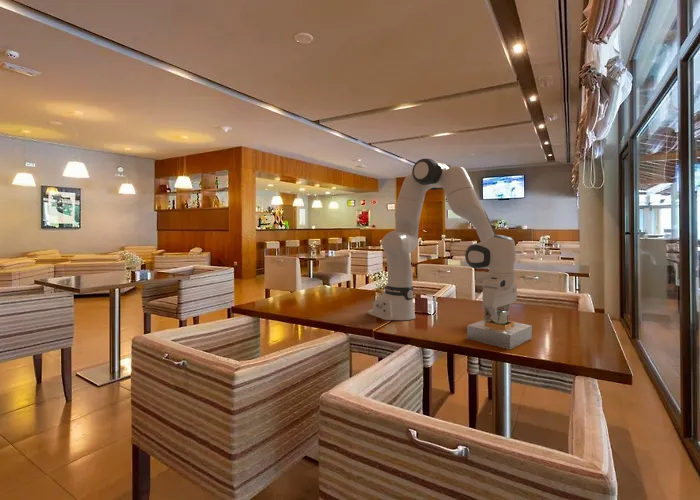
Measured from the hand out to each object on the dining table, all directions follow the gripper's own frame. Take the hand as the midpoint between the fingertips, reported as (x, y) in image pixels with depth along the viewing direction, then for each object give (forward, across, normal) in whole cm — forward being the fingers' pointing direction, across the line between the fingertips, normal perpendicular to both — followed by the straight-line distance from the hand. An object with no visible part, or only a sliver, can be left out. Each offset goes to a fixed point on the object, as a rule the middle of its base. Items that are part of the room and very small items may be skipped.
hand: (499, 317), depth 141 cm
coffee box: (+8, -17, -10) cm, 21 cm away
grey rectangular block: (+8, 0, 0) cm, 8 cm away
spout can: (+7, 0, -1) cm, 7 cm away
